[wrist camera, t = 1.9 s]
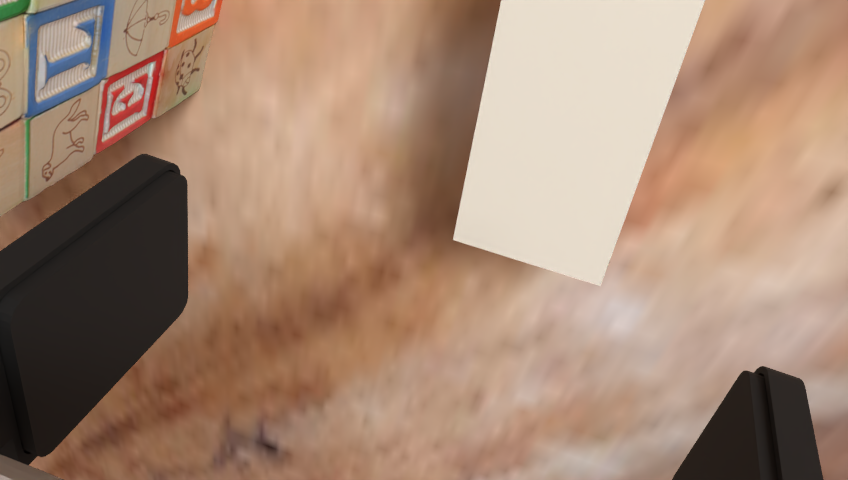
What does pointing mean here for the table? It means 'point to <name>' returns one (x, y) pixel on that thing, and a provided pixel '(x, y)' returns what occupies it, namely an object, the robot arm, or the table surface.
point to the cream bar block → (569, 126)
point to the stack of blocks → (89, 79)
